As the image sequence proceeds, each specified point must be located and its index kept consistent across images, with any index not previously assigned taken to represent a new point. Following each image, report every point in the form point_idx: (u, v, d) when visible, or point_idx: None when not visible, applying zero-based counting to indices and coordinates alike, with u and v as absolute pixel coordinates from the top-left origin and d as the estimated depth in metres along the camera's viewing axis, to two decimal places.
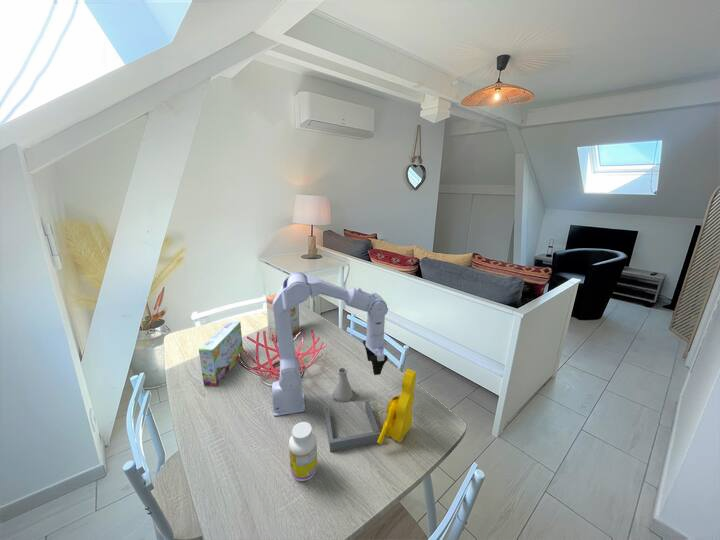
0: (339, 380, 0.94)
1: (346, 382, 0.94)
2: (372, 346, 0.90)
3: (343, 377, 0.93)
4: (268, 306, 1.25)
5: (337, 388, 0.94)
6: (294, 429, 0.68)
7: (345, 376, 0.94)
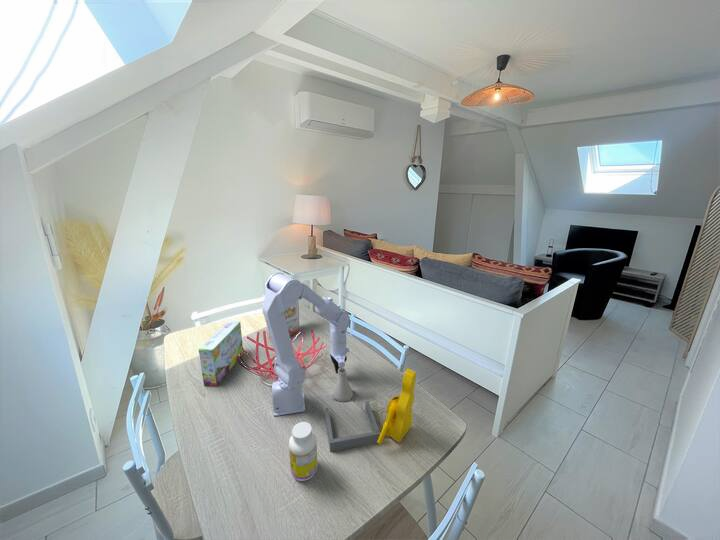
0: (339, 380, 0.94)
1: (346, 382, 0.94)
2: (335, 353, 0.99)
3: (343, 377, 0.93)
4: None
5: (337, 388, 0.94)
6: (294, 429, 0.68)
7: (345, 376, 0.94)
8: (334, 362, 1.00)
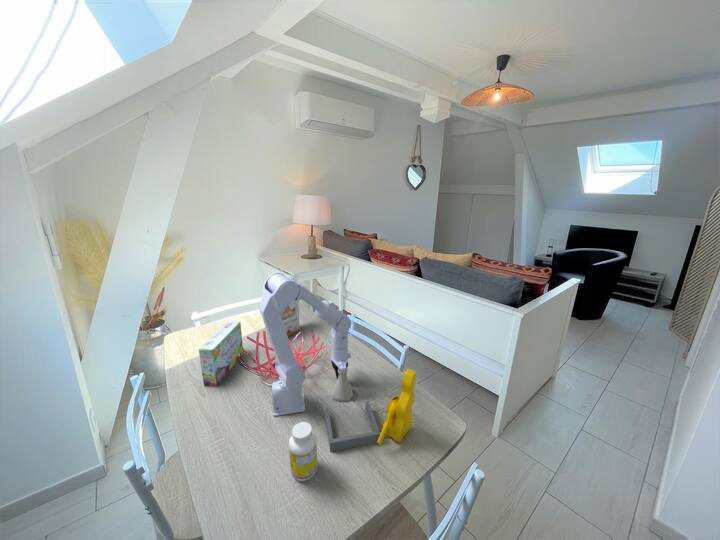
0: (339, 380, 0.94)
1: (346, 382, 0.94)
2: (336, 359, 0.97)
3: (343, 377, 0.93)
4: None
5: (337, 388, 0.94)
6: (294, 429, 0.68)
7: (345, 376, 0.94)
8: (335, 368, 0.98)
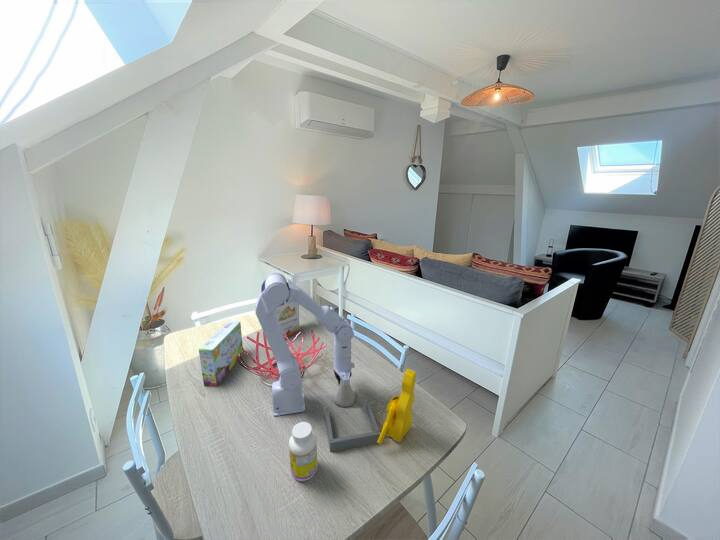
0: (341, 385, 0.91)
1: (348, 387, 0.91)
2: (339, 369, 0.91)
3: None
4: None
5: (339, 393, 0.91)
6: (294, 429, 0.68)
7: None
8: (338, 378, 0.93)
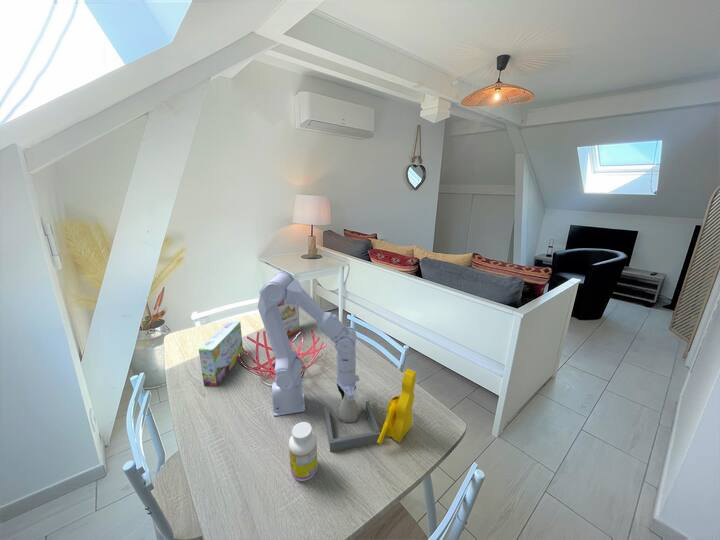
0: (345, 400, 0.85)
1: (353, 401, 0.85)
2: (342, 383, 0.85)
3: None
4: None
5: (343, 408, 0.85)
6: (294, 429, 0.68)
7: None
8: (341, 392, 0.87)
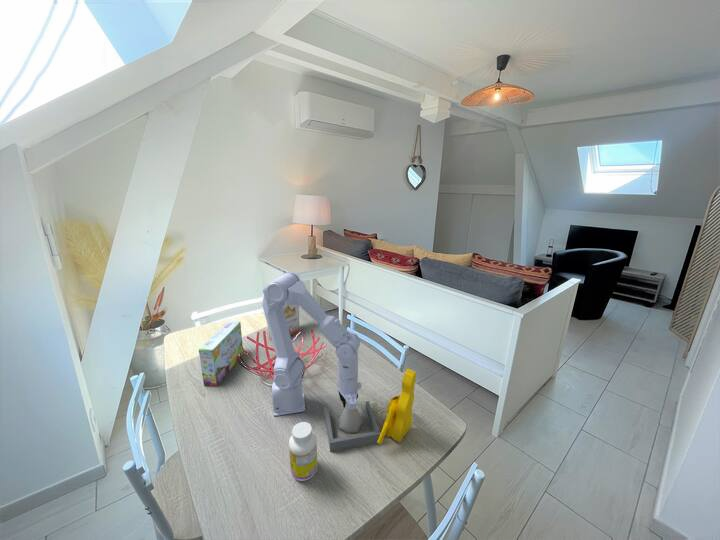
0: (347, 409, 0.81)
1: (355, 411, 0.82)
2: (344, 391, 0.82)
3: None
4: None
5: (344, 418, 0.82)
6: (294, 429, 0.68)
7: None
8: (343, 400, 0.83)
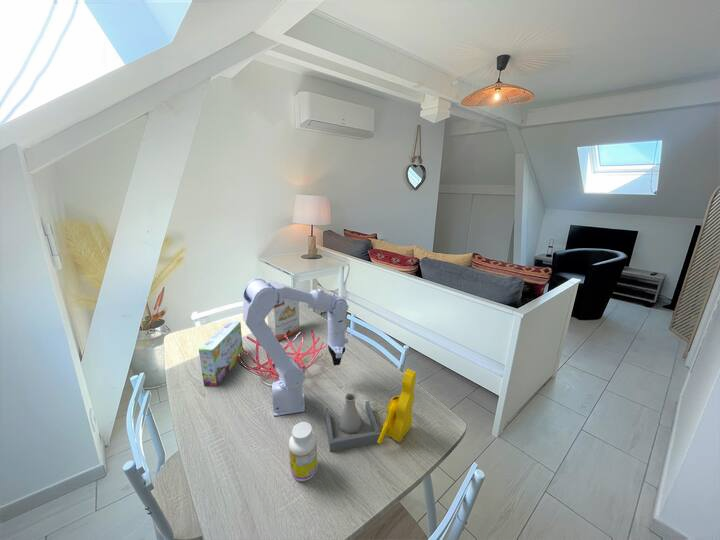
0: (346, 408, 0.82)
1: (354, 410, 0.82)
2: (332, 344, 0.94)
3: (351, 405, 0.81)
4: None
5: (344, 417, 0.82)
6: (294, 429, 0.67)
7: (353, 404, 0.82)
8: (332, 353, 0.95)
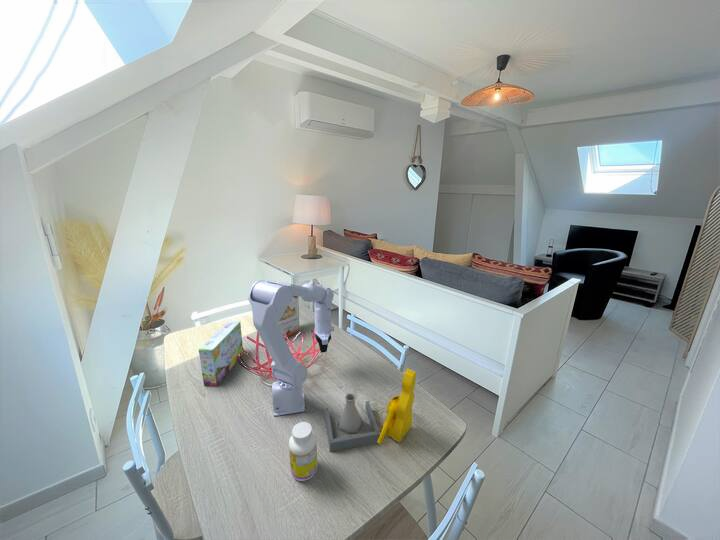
0: (346, 408, 0.82)
1: (354, 410, 0.82)
2: (319, 332, 1.00)
3: (351, 405, 0.81)
4: None
5: (344, 417, 0.82)
6: (294, 429, 0.68)
7: (353, 404, 0.82)
8: (318, 341, 1.01)
